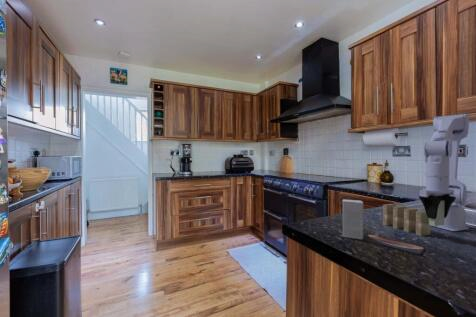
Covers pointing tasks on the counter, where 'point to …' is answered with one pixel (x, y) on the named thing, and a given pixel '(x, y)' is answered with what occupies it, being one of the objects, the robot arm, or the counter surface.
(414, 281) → the counter surface
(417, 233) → the domino
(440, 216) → the domino
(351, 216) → the skincare box
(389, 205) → the domino
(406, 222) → the domino
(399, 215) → the domino
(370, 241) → the brown flat slab
